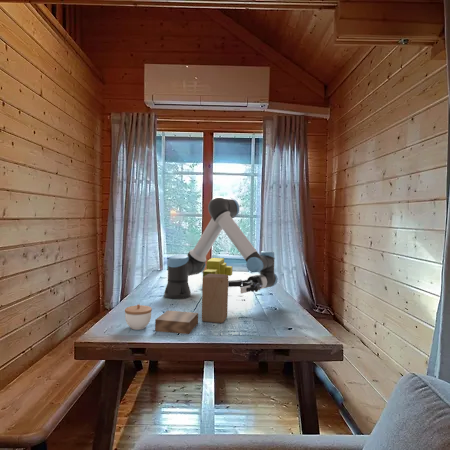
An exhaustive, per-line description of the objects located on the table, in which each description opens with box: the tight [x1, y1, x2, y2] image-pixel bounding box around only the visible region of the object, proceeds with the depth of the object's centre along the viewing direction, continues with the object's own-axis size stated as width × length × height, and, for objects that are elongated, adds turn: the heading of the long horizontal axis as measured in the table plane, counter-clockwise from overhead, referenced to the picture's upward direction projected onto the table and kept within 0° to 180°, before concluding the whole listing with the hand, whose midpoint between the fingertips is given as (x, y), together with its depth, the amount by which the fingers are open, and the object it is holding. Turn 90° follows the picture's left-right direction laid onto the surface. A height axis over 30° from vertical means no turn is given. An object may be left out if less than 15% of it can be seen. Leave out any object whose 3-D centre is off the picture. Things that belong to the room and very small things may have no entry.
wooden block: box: [201, 274, 229, 324], centre depth 154 cm, size 10×10×20 cm
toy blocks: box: [202, 257, 233, 278], centre depth 239 cm, size 35×16×16 cm
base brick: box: [154, 309, 199, 335], centre depth 143 cm, size 14×14×5 cm
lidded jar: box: [124, 303, 153, 331], centre depth 141 cm, size 11×11×9 cm
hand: (229, 288), depth 161 cm, fingers open, 13 cm apart
